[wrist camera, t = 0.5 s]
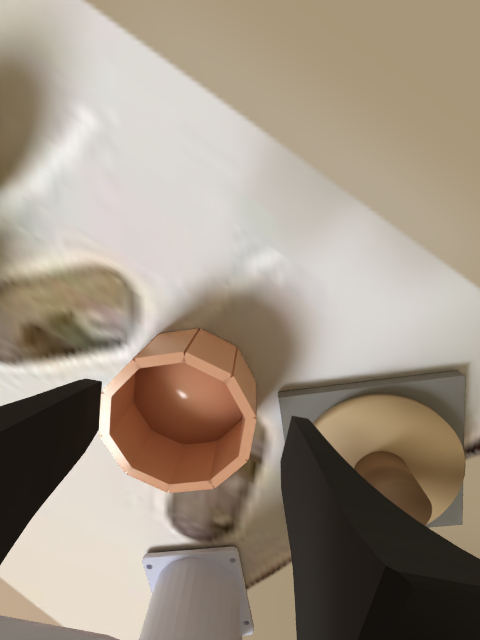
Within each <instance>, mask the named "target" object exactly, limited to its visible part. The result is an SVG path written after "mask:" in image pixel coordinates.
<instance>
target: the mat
mask: <svg viewBox="0 0 480 640" xmlns="http://www.w3.org/2000/svg"><path fill="white" fill-rule="evenodd" d="M374 393H389V394H397V395H402V396H406V397H409V398H412V399H415V400H417V401H419V402H421V403H423V404H425V405H427V406H428V407H430V408H431V409H432V410H434V411H435V412H436V413H437V414H438V415H439V416H440V417H442V418H443V419H444V420H445V421H446V422H447V423H448V424H449V426H450V427H451V428H452V429H453V430H454V431H455V433H456V435H457V436H458V438H459V440H460V442H461V445H462V447H463V451H464V411H465V375H464V374H462V373H461V372H459V371H458V370H456V371H448V372H439V373H431V374H423V375H415V376H407V377H398V378H390V379H382V380H374V381H366V382H357V383H349V384H341V385H333V386H325V387H316V388H308V389H300V390H292V391H284V392H278V396H279V403H280V410H281V417H282V424H283V431H284V438H285V442H286V437H287V433H288V429H289V425H290V421H291V417H292V416H297V417H303V418H308V419H309V420H310V421H311V422H312V423H313V422H314V421H315V420H316V419H317V418H318V417H319V416H320V415H321V414H322V413H324V412H325V411H326V410H328V409H329V408H331V407H333V406H334V405H336V404H338V403H340V402H342V401H345V400H347V399H350V398H353V397H356V396H360V395H366V394H374ZM462 511H463V483H462V486H461V488H460V490H459V493H458V494H457V496H456V498H455V499H454V501H453V502H452V503H451V505H450V506H449V507H448V508H447V509H446V510H445V511H444V512H443V513H442V514H441V515H440V516H439V517H437V518H436V519H435V520H433V521H432V522H430V523H429V524H427V525H425V526H426V527H438V526H450V525H462Z"/></svg>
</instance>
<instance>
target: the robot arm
mask: <svg viewBox="0 0 480 640" xmlns="http://www.w3.org/2000/svg"><path fill="white" fill-rule="evenodd" d="M101 386H102V382H101V381H96V380H90V379H82V380H79V381H75V382H72V383H69V384H66V385H63V386H60V387H57V388H55V389H52V390H49V391H46V392H43V393H40V394H37V395H35V396H32V397H29V398H25V399H22V400H19V401H16V402H13V403H9V404H6V405H3V406H0V565H1V563H2V562H3V560H4V558H5V557H6V555H7V554H8V552H9V551H10V549H11V548H12V546H13V545H14V543H15V542H16V540H17V539H18V538H19V536H20V535H21V533H22V532H23V530H24V529H25V527H26V526H27V524H28V523H29V521H30V520H31V519H32V517H33V516H34V515H35V513H36V512H37V511H38V509H39V508H40V507H41V506H42V504H43V503H44V502H45V501H46V499H47V498H48V497H49V496H50V495H51V493H52V492H53V491H54V490H55V488H56V487H57V486H58V485H59V484H60V482H61V481H62V480H63V479H64V477H65V476H66V475H67V474H68V473H69V471H70V470H71V469H72V468H73V466H74V465H75V464H76V463H77V461H78V460H79V459H80V458H81V456H82V455H83V454H84V453H85V451H86V449H87V448H88V446H89V445H90V443H91V442H92V440H93V438H94V436H95V435H96V433H97V431H98V430H99V418H100V402H101ZM281 489H282V497H283V503H284V510H285V516H286V523H287V529H288V536H289V542H290V549H291V556H292V565H293V577H294V593H295V610H296V630H297V640H480V559H479V558H477V557H475V556H473V555H471V554H470V553H468V552H466V551H464V550H462V549H461V548H459V547H457V546H456V545H454V544H452V543H451V542H449V541H448V540H446V539H445V538H443V537H441V536H440V535H438V534H437V533H435V532H434V531H432V530H430V529H429V528H427V527H426V526H424V525H423V524H422V523H420V522H419V521H417V520H416V519H414V518H413V517H412V516H410V515H409V514H407V513H406V512H405V511H403V510H402V509H401V508H399V507H398V506H397V505H395V504H394V503H393V502H391V501H390V500H389V499H388V498H386V497H385V496H384V495H383V494H381V493H380V492H379V491H378V490H377V489H376V488H374V487H373V486H372V485H371V484H370V483H369V482H367V481H366V480H365V479H364V478H363V477H362V476H361V475H360V474H359V473H358V472H357V471H356V470H355V469H354V468H353V467H352V466H351V465H350V464H349V463H348V462H347V461H346V460H345V459H344V458H343V457H342V456H341V455H340V454H339V453H338V452H337V451H336V450H335V449H334V447H333V446H332V445H331V444H330V443H329V442H328V441H327V440H326V438H325V437H324V436H323V435H322V434H321V433H320V431H319V430H318V429H317V428H316V427H315V426H314V424H313V423H312V422H311V421H310V420H309V419H308V418H303V417H297V416H292V417H291V421H290V425H289V429H288V433H287V437H286V442H285V446H284V450H283V454H282V458H281ZM142 562H143V566H144V569H145V572H146V576H147V579H148V582H149V585H150V589H151V592H152V596H151V600H150V603H149V607H148V610H147V613H146V617H145V620H144V624H143V627H142V631H141V634H140V637H139V640H242V635H251V634H252V633H253V631H254V625H253V621H252V616H251V611H250V606H249V601H248V597H247V591H246V587H245V582H244V577H243V572H242V567H241V562H240V557H239V552H238V549H237V548H235V547H219V548H207V549H194V550H182V551H169V552H157V553H147V554H145V555H144V557H143V560H142ZM0 640H119V639H116V638H114V637H111V636H108V635H104V634H99V633H93V632H88V631H83V630H77V629H72V628H66V627H61V626H55V625H50V624H44V623H39V622H33V621H28V620H22V619H16V618H11V617H6V616H0Z"/></svg>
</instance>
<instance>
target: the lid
mask: <svg viewBox="0 0 480 640" xmlns="http://www.w3.org/2000/svg"><path fill="white" fill-rule="evenodd" d="M313 424H314V426H315V427H316V428H317V429H318V430H319V431H320V433H321V434H322V435H323V436H324V437H325V438H326V440H327V441H328V442H329V443H330V444H331V445H332V446H333V447H334V449H335V450H336V451H337V452H338V453H339V454H340V455H341V456H342V457H343V458H344V459H345V460H346V461H347V462H348V463H349V464H350V465H351V466H352V467H353V468H354V469H355V470H356V471H357V472H358V473H359V474H360V475H361V476H362V477H363V478H364V479H365V480H366V481H367V482H369V483H370V484H371V485H372V486H373V487H374V488H376V489H377V490H378V491H379V492H380V493H381V494H383V495H384V496H385V497H386V498H388V499H389V500H390V501H391V502H393V503H394V504H395V505H397V506H398V507H399V508H401V509H402V510H403V511H405V512H406V513H407V514H409V515H410V516H412V517H413V518H414V519H416V520H417V521H419V522H420V523H422V524H423V525H424V526H425V525H427V524H429V523H430V522H432V521H433V520H435V519H436V518H437V517H439V516H440V515H441V514H442V513H443V512H444V511H445V510H446V509H447V508H448V507H449V506H450V505H451V503H452V502H453V501H454V499H455V498H456V496H457V494H458V493H459V490H460V488H461V486H462V483H463V479H464V475H465V455H464V451H463V447H462V445H461V442H460V440H459V438H458V436H457V435H456V433H455V431H454V430H453V429H452V428H451V427H450V426H449V424H448V423H447V422H446V421H445V420H444V419H443V418H442V417H440V416H439V415H438V414H437V413H436V412H435V411H434V410H432V409H431V408H430V407H428V406H427V405H425V404H423V403H421V402H419V401H417V400H415V399H412V398H409V397H406V396H402V395H397V394H389V393H374V394H366V395H360V396H356V397H353V398H350V399H347V400H345V401H342V402H340V403H338V404H336V405H334V406H333V407H331V408H329V409H328V410H326V411H325V412H324V413H322V414H321V415H320V416H319V417H318V418H317V419H316V420H315V421H314V422H313Z"/></svg>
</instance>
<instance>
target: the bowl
mask: <svg viewBox="0 0 480 640" xmlns="http://www.w3.org/2000/svg"><path fill="white" fill-rule="evenodd" d="M236 347H237V346H235V345H233V344H231V343H229V342H227V341H225V340H223V339H221V338H219V337H217V336H215V335H213V334H211V333H209V332H207V331H205V330H203V329H200V330H199V328H196V329H189V330H182V331H175V332H168V333H161V334H159V335H157V336H156V337H155V338H154V339H153V340H152V341H151V342H150V343H149V344H148V345H147V346H146V347H145V348H144V349H142V350H141V351H140V352H139V353H138V354H137V355H136V356H135V357H134V358H133V359H132V360H131V361H130V362H129V363H128V364H127V365H126V366H125V367H124V368H123V370H122V371H121V372H120V373H119V374H118V375H117V376H116V377H115V378H114V379H113V380H112V381H111V382H110V383H109V384H108V385H107V386H106V387H105V388H104V389H103V390H102V392H101V402H100V422H99V435H101V436H100V438H101V440H102V441H103V443H104V444H105V445H106V447H107V448H108V450H109V451H110V453H111V454H112V456H113V457H114V458H115V460H116V461H117V463H118V464H119V466H120V467H121V468H122V470H123V471H124V473H125V472H127V471H128V472H127V475H129V476H131V477H134V478H136V479H138V480H140V481H143V482H145V483H147V484H149V485H152V486H154V487H156V488H158V489H160V490H163V491H165V492H168V490H169V493H174V492H184V491H195V490H205V489H213V487H215V488H216V487H217V486H218V485H219V484H221V483H222V482H223V481H224V480H226V479H227V478H228V477H229V476H230V475H232V474H233V473H234V472H235V471H237V470H238V469H239V468H240V467H241V466H243V465H244V464H245V463H246V462H247V460H249V455H250V450H251V445H252V440H253V434H254V429H255V424H256V380H255V378H254V376H253V374H252V372H251V371H250V369H249V367H248V365H247V363H246V361H245V359H244V358H243V356H242V354H241V352H240V350H239V348H237V349H236Z"/></svg>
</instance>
